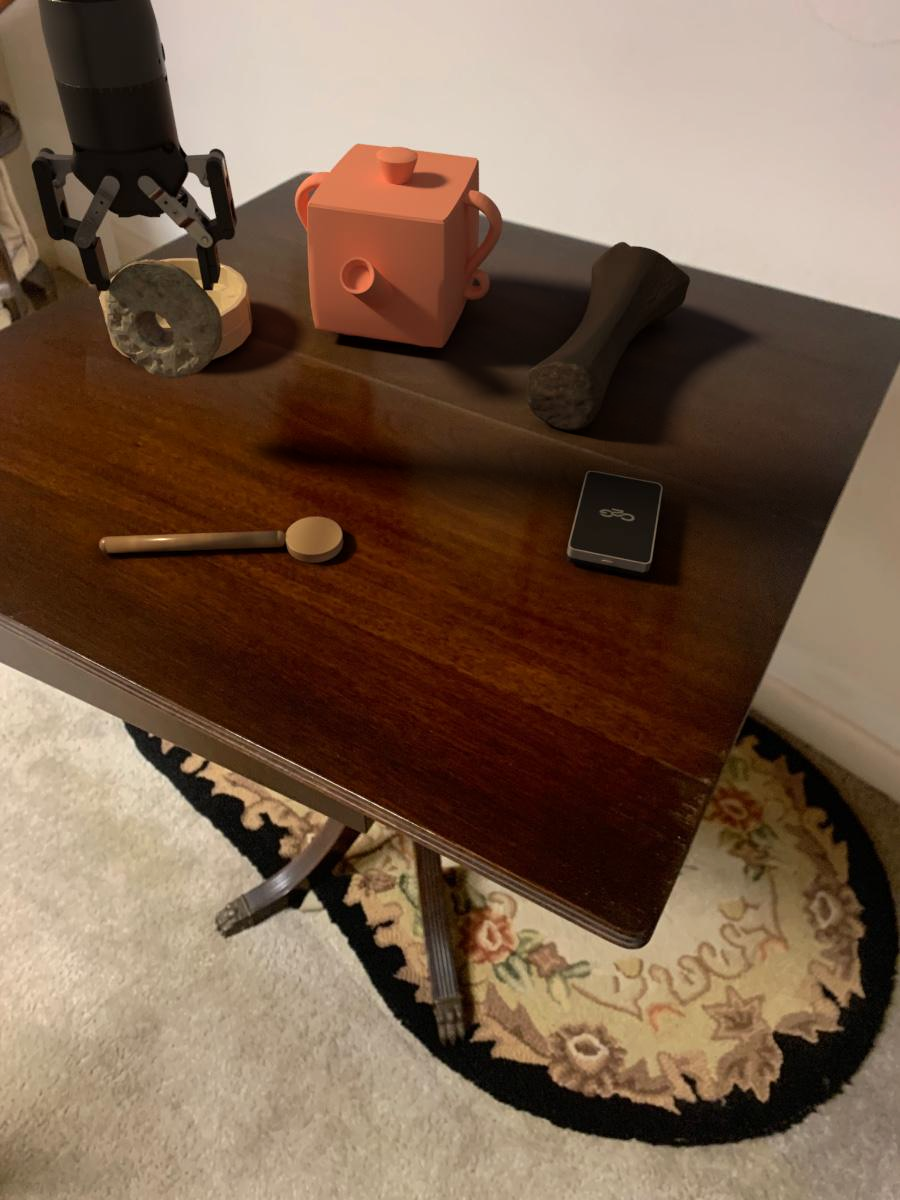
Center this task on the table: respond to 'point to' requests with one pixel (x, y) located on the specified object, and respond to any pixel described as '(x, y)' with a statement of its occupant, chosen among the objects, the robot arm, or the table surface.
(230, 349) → the bowl
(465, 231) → the teapot
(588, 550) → the external hard drive
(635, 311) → the dark brown bone
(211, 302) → the stone ring
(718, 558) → the table surface
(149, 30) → the robot arm
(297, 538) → the spoon
